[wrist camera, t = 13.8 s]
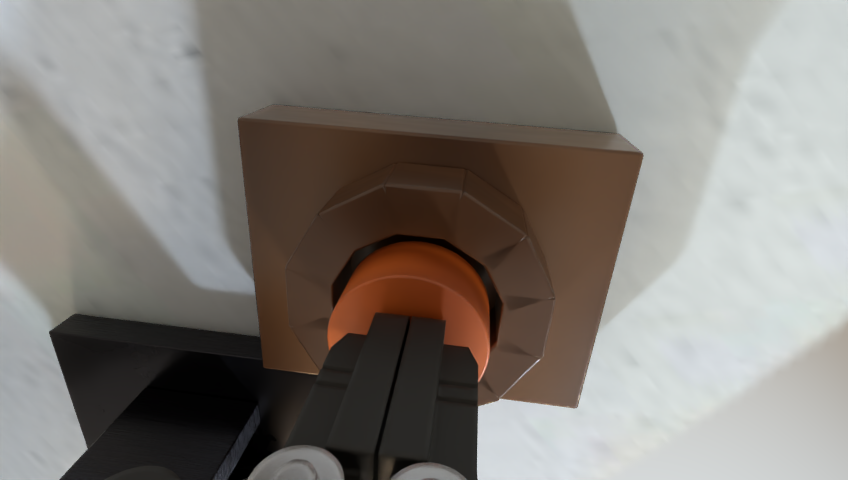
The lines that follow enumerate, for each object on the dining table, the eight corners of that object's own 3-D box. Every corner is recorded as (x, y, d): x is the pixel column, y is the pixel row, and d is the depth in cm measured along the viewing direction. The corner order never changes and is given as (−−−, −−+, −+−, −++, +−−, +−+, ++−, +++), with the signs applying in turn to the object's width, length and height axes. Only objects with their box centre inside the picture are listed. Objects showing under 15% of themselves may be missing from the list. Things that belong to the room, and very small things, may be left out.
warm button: (347, 353, 13) (328, 400, 11) (346, 232, 11) (324, 266, 10) (480, 370, 13) (480, 420, 11) (497, 248, 11) (500, 286, 9)
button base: (288, 329, 17) (235, 410, 14) (271, 103, 14) (196, 132, 10) (566, 363, 16) (589, 458, 13) (621, 133, 13) (673, 175, 9)
